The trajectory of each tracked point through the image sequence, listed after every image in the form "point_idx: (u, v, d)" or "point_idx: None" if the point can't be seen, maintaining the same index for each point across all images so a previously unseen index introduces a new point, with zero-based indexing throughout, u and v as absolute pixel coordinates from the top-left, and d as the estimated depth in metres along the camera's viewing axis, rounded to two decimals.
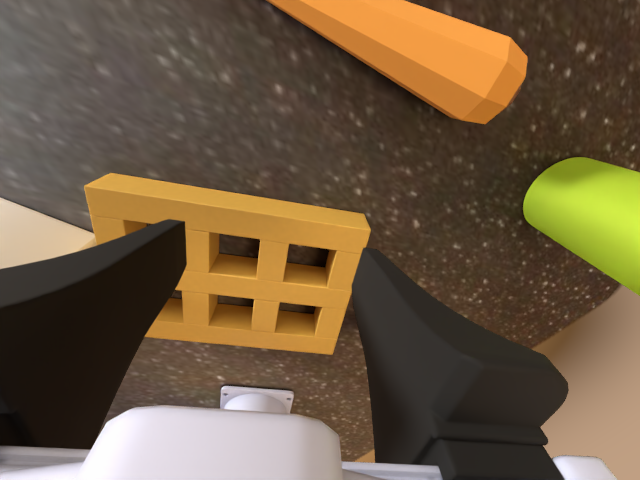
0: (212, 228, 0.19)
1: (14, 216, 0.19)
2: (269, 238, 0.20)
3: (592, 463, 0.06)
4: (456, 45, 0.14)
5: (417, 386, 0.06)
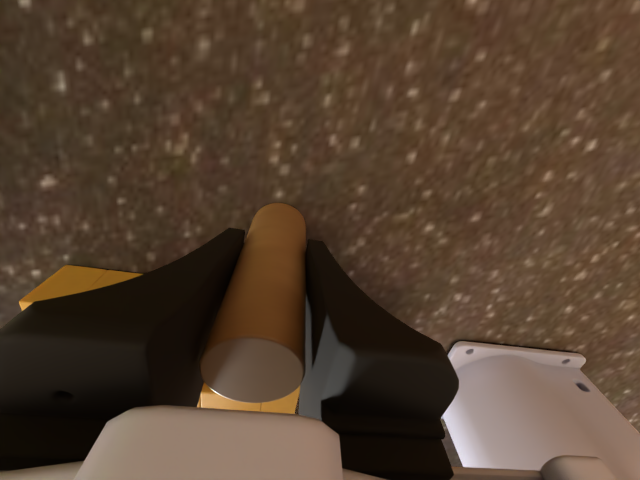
0: None
1: None
2: None
3: (593, 463, 0.06)
4: None
5: (318, 378, 0.06)
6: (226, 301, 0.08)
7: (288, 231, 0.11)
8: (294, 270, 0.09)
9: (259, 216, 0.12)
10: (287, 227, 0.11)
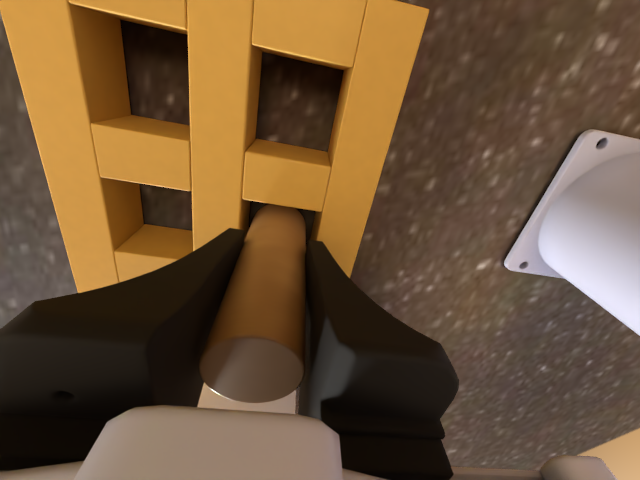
0: (104, 245, 0.13)
1: None
2: (90, 160, 0.11)
3: (593, 463, 0.06)
4: None
5: (318, 378, 0.06)
6: (226, 301, 0.08)
7: (287, 231, 0.11)
8: (293, 270, 0.09)
9: (259, 216, 0.12)
10: (287, 226, 0.11)
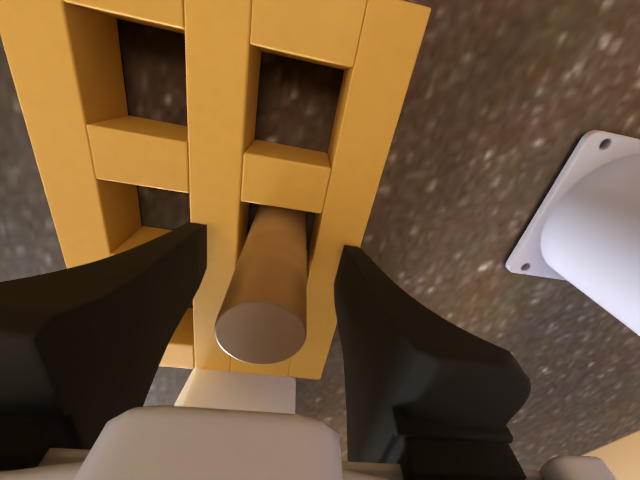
0: (101, 248, 0.12)
1: (176, 404, 0.20)
2: (86, 162, 0.11)
3: (593, 463, 0.06)
4: None
5: (383, 383, 0.06)
6: (236, 275, 0.09)
7: (290, 218, 0.12)
8: (295, 251, 0.10)
9: (263, 205, 0.14)
10: (290, 214, 0.13)
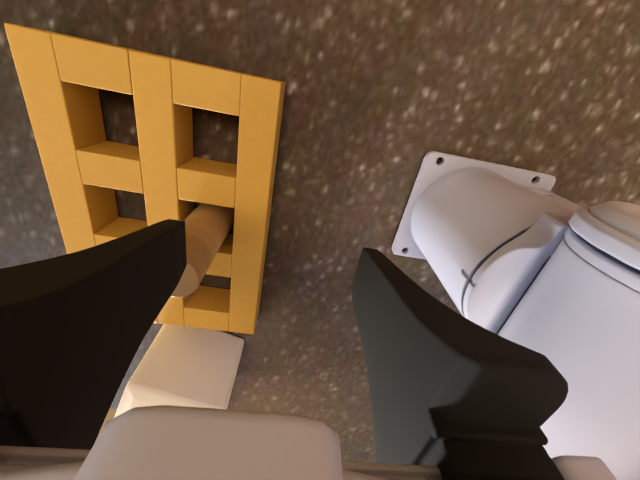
0: (87, 230, 0.18)
1: None
2: (76, 173, 0.16)
3: (593, 463, 0.06)
4: None
5: (417, 386, 0.06)
6: None
7: (213, 211, 0.18)
8: (207, 231, 0.16)
9: None
10: (215, 208, 0.18)
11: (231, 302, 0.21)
